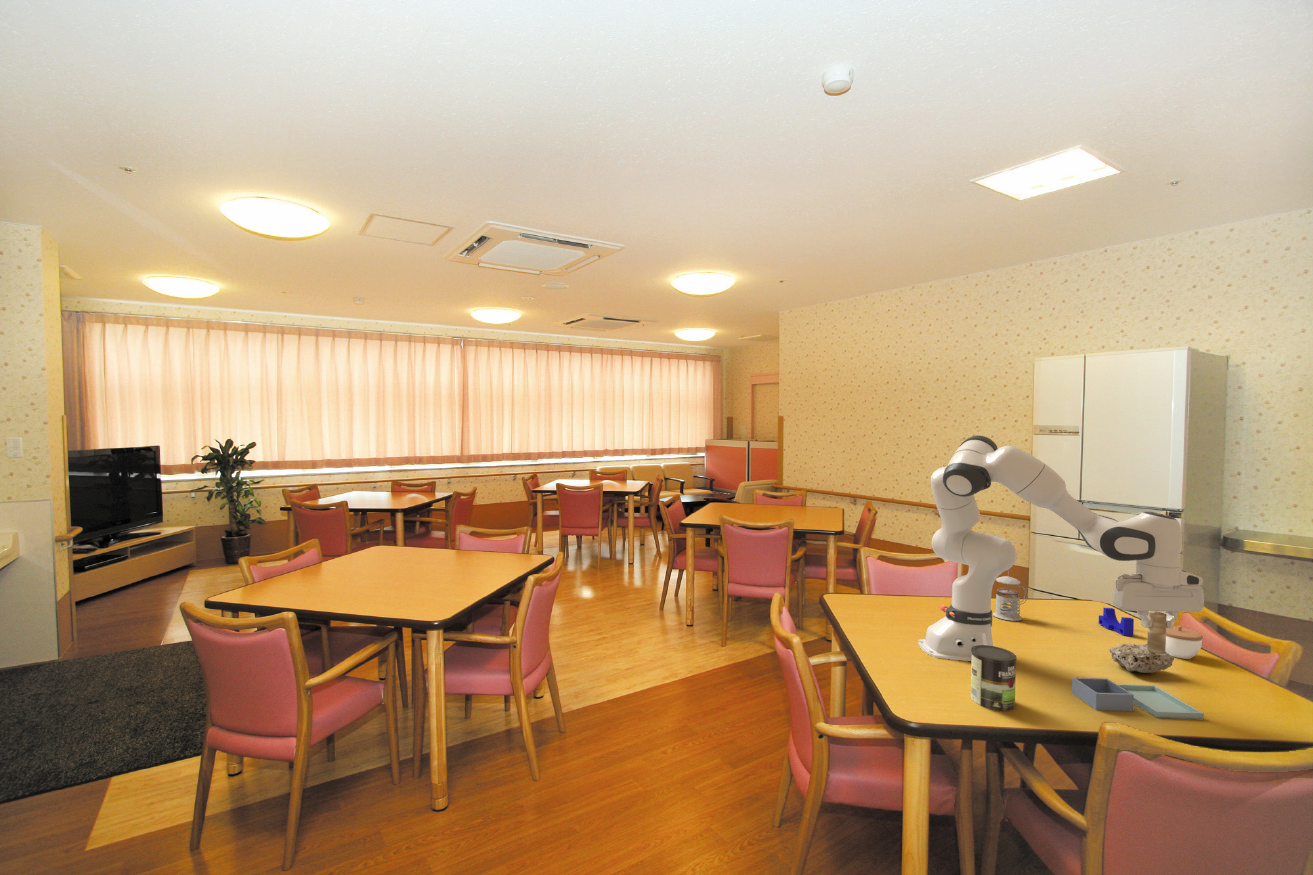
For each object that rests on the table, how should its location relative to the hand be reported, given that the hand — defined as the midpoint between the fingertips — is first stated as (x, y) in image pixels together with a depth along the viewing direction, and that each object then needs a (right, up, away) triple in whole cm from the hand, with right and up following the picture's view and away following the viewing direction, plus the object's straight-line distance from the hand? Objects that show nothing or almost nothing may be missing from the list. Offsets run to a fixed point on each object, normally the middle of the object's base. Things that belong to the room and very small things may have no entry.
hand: (1156, 627), depth 149 cm
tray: (0, -21, +1) cm, 21 cm away
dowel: (0, -6, 0) cm, 6 cm away
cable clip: (+35, -20, +57) cm, 69 cm away
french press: (+5, -19, +70) cm, 72 cm away
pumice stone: (+14, -21, +21) cm, 33 cm away
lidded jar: (+37, -20, +34) cm, 54 cm away
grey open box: (-13, -21, +2) cm, 25 cm away
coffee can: (-42, -21, +1) cm, 47 cm away
